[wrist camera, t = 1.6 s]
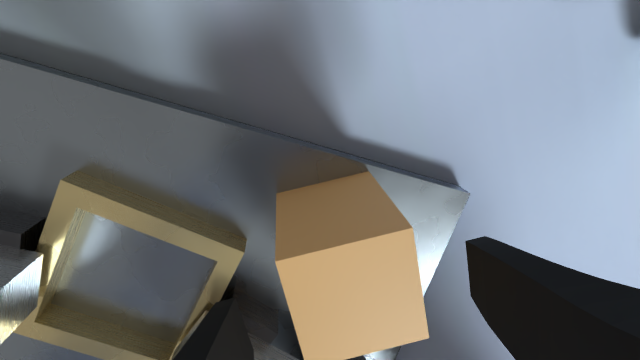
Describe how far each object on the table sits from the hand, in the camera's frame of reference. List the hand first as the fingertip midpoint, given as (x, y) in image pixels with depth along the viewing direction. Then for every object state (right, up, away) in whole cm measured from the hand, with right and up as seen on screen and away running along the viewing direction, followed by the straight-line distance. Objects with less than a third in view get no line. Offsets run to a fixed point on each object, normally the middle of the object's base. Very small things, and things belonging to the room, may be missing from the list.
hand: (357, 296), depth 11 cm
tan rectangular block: (-1, +2, +5) cm, 5 cm away
